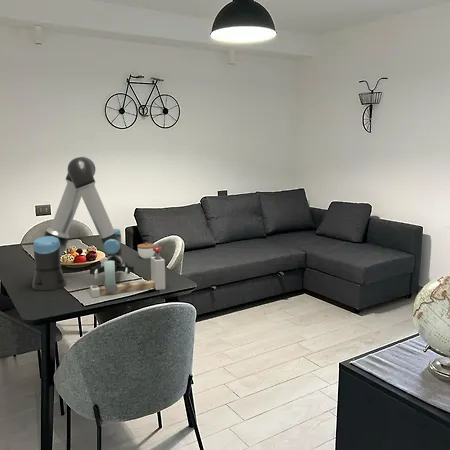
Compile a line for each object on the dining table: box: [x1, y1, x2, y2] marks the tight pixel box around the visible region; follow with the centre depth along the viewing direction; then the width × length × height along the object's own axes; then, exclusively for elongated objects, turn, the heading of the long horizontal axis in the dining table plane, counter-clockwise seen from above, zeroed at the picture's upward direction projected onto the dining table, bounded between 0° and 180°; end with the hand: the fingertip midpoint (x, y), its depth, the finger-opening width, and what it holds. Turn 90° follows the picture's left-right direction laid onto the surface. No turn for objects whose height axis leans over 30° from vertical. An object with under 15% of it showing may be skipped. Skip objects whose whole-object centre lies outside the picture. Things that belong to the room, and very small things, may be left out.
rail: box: [98, 279, 155, 296], centre depth 214 cm, size 26×4×3 cm, turn 114°
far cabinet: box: [150, 256, 166, 291], centre depth 219 cm, size 4×9×14 cm, turn 24°
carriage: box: [103, 260, 118, 293], centre depth 210 cm, size 5×6×13 cm
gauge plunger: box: [153, 246, 162, 260], centre depth 218 cm, size 4×4×11 cm
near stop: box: [89, 284, 100, 299], centre depth 208 cm, size 3×7×4 cm, turn 24°
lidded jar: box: [137, 241, 156, 260], centre depth 279 cm, size 11×11×9 cm
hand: (110, 275), depth 209 cm, fingers open, 13 cm apart
